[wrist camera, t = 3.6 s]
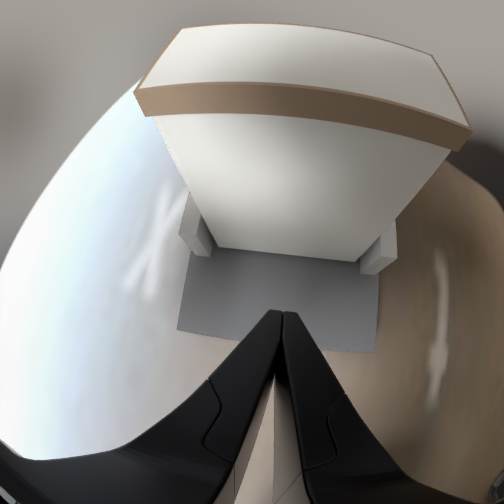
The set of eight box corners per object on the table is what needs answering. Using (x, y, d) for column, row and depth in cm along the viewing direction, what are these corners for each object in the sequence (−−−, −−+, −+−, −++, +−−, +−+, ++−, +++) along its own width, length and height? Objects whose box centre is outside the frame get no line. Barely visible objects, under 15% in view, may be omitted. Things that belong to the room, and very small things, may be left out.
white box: (356, 264, 13) (473, 131, 4) (216, 248, 14) (132, 92, 5) (356, 208, 14) (432, 55, 5) (227, 194, 15) (180, 28, 6)
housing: (364, 352, 14) (399, 354, 9) (185, 331, 15) (152, 325, 10) (364, 147, 18) (381, 104, 13) (227, 133, 19) (217, 87, 15)
